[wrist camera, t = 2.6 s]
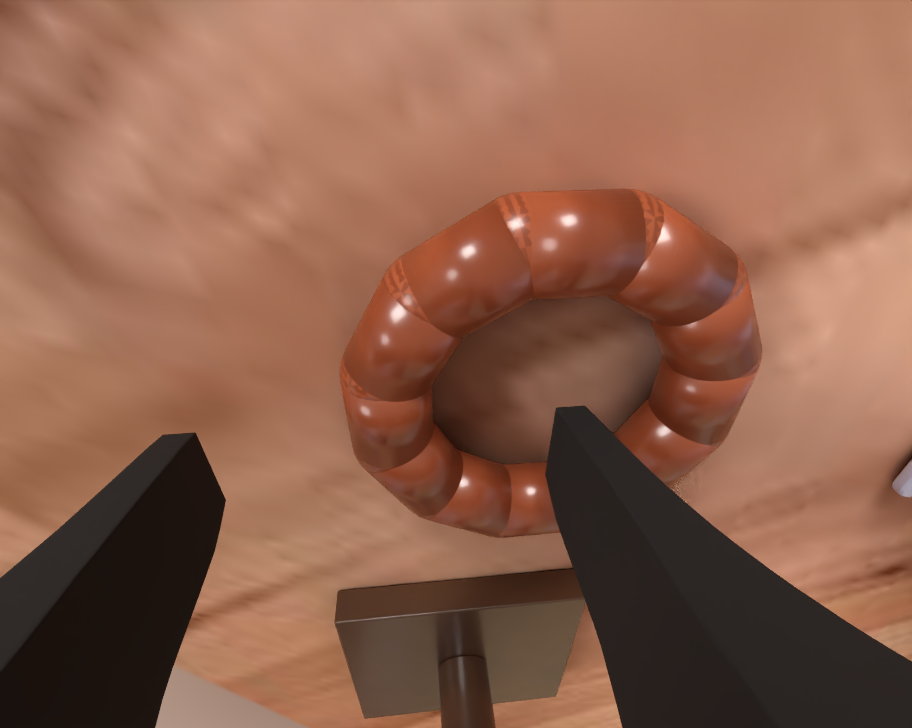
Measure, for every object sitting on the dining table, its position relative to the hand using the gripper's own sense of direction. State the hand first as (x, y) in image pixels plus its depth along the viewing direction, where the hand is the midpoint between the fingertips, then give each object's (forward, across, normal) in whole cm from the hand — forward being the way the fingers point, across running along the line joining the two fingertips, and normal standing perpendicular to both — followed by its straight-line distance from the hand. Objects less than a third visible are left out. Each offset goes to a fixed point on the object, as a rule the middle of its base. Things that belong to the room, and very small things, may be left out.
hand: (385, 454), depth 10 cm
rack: (+2, -2, +14) cm, 14 cm away
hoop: (+2, -4, 0) cm, 4 cm away
